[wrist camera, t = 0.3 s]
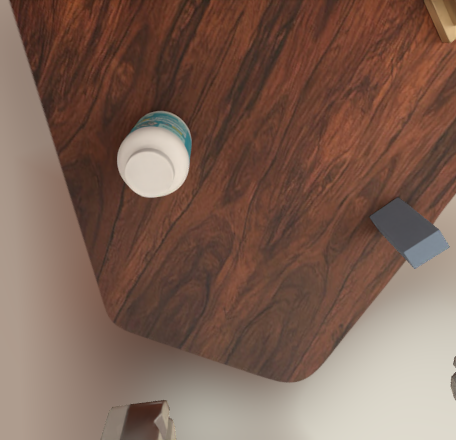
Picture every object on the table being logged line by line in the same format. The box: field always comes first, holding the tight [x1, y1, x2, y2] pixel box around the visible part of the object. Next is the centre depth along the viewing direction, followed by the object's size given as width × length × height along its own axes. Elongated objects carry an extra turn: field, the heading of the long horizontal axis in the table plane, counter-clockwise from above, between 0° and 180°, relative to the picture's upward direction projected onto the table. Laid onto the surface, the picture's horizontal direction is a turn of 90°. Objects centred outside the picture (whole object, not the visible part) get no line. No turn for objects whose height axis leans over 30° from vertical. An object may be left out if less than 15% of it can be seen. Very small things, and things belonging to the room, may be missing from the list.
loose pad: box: [370, 197, 449, 269], centre depth 49 cm, size 4×5×10 cm
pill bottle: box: [117, 111, 191, 197], centre depth 39 cm, size 8×7×14 cm
